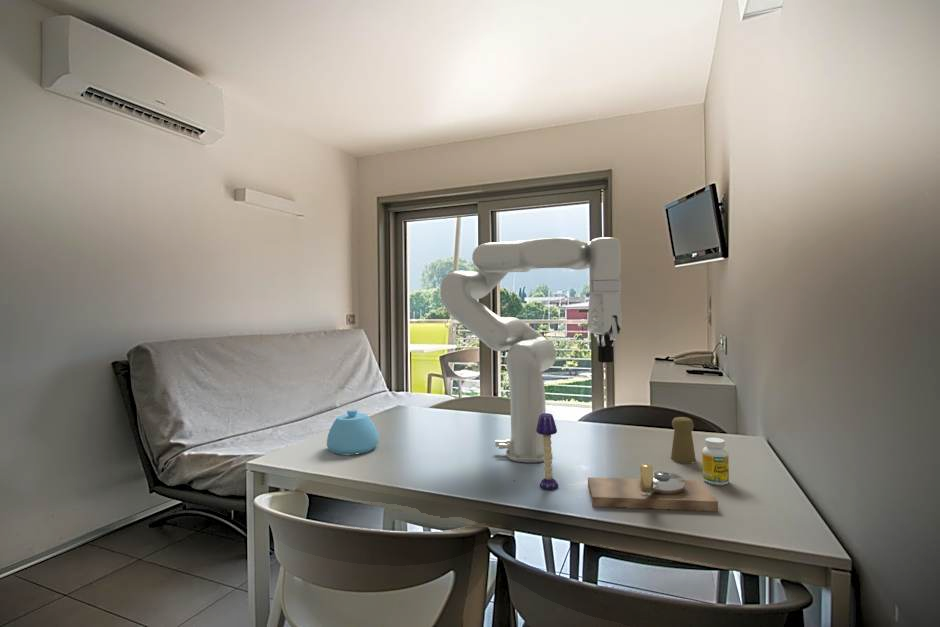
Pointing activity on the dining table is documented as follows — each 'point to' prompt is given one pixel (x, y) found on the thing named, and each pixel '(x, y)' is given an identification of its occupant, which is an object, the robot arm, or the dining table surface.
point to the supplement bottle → (715, 462)
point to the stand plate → (631, 496)
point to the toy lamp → (547, 449)
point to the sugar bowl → (352, 434)
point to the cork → (683, 440)
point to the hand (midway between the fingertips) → (605, 361)
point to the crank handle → (659, 481)
